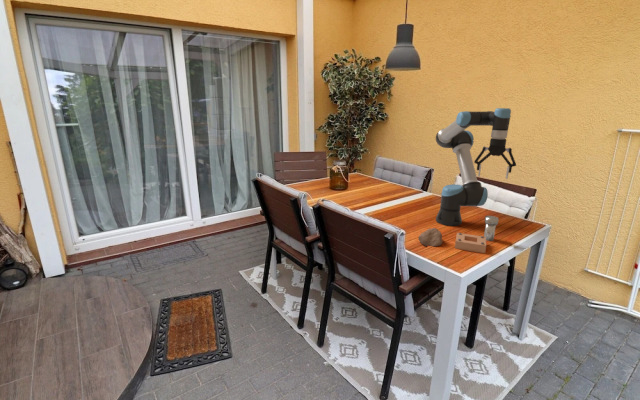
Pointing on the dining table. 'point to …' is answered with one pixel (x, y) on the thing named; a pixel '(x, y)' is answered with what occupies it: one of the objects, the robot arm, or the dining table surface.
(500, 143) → the robot arm
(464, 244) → the housing
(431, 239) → the stone
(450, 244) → the dining table surface
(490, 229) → the grey metal plug
